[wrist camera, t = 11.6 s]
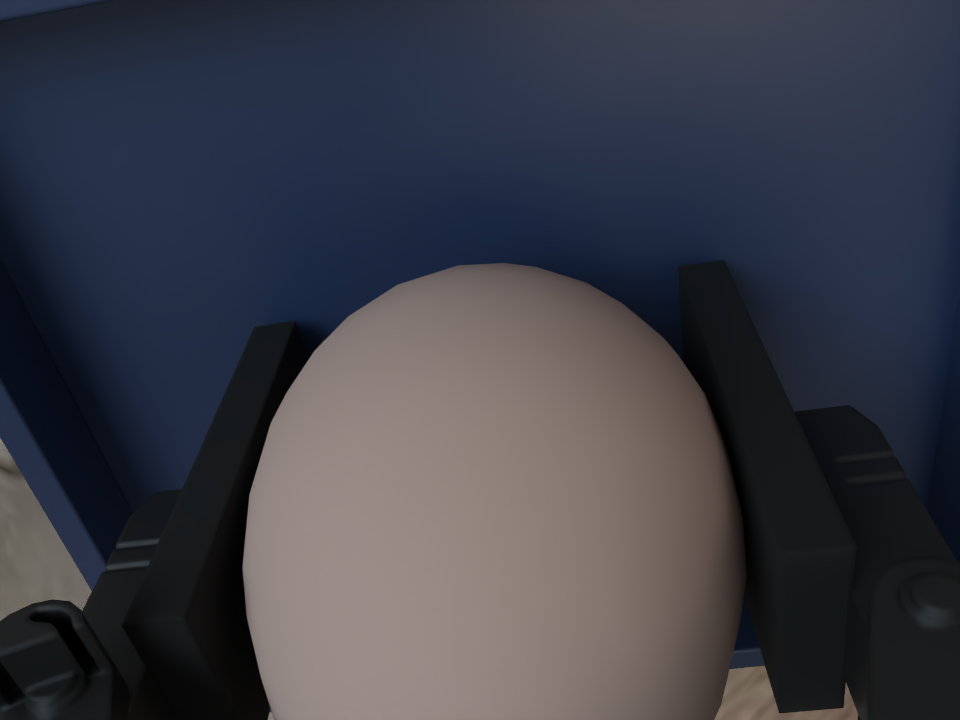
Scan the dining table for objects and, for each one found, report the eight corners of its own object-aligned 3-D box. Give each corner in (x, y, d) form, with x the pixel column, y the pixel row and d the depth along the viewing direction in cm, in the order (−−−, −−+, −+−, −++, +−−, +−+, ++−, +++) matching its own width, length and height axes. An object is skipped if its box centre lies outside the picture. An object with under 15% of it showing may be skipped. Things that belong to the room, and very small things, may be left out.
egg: (635, 507, 18) (734, 1047, 10) (307, 470, 18) (159, 1001, 10) (726, 205, 14) (984, 695, 7) (316, 151, 14) (93, 605, 6)
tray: (195, 645, 21) (168, 722, 20) (-153, -14, 13) (-252, 19, 12) (933, 569, 20) (975, 647, 18) (1058, -252, 11) (1159, -256, 10)
